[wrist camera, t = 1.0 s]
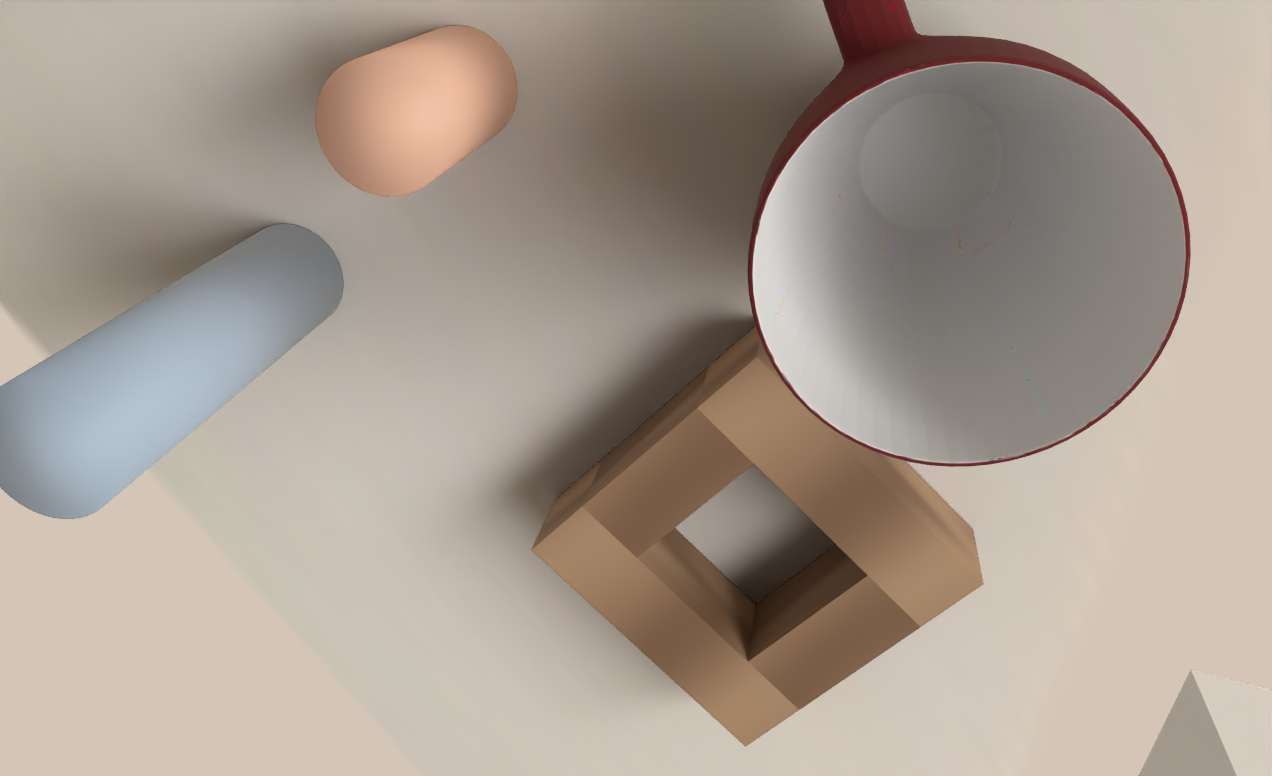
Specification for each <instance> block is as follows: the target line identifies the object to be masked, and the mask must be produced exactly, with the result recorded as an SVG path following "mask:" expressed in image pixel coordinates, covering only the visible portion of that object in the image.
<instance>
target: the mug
mask: <svg viewBox="0 0 1272 776" xmlns="http://www.w3.org/2000/svg"><path fill="white" fill-rule="evenodd" d="M823 2H824V5H825V8H826V11H827V14H828V17H829V20H830V23H831V26H832V29H833V31H834V34H835V37H836V40H837V43H838V45H839V48H840V51H841V54H842V57H843V60H844V67H843V69H842V71H841V72H840V73H839V74H838V75H837V77H836V78H835V79H834V80H833V81H832V82H831V83H830V84H829V85H828V86H827V87H826V88H825V89H824V90H823V92H822V93H821V94H820V95H819V96H818V97H817V98H816V99H815V100H814V101H813V102H812V103H811V104H810V106H809V107H808V108H807V109H806V110H805V111H804V113H803V114H802V115H801V116H800V117H799V119H798V120H797V122H796V123H795V124H794V126H793V127H792V128H791V130H790V131H789V132H788V134H787V136H786V137H785V139H784V141H783V142H782V144H781V146H780V147H779V149H778V151H777V153H776V155H775V157H774V159H773V161H772V163H771V165H770V167H769V169H768V172H767V175H766V177H765V180H764V183H763V186H762V188H761V192H760V196H759V200H758V204H757V208H756V212H755V216H754V220H753V227H752V233H751V240H750V246H749V255H748V285H749V295H750V302H751V308H752V313H753V317H754V320H755V324H756V328H757V331H758V334H759V337H760V339H761V342H762V344H763V347H764V349H765V351H766V353H767V355H768V357H769V359H770V361H771V363H772V365H773V367H774V368H775V370H776V371H777V373H778V374H779V376H780V378H781V379H782V381H783V382H784V383H785V385H786V386H787V387H788V388H789V390H790V391H791V392H792V393H793V395H794V396H795V397H796V398H797V399H798V400H799V401H800V402H801V403H802V404H803V405H804V406H805V407H806V408H807V409H808V410H809V411H810V412H811V413H812V414H813V415H815V416H816V417H817V418H818V419H819V420H820V421H822V422H823V423H824V424H826V425H827V426H829V427H830V428H831V429H833V430H834V431H836V432H837V433H839V434H841V435H842V436H844V437H846V438H848V439H849V440H851V441H853V442H855V443H857V444H859V445H861V446H863V447H866V448H868V449H870V450H872V451H875V452H878V453H881V454H884V455H887V456H889V457H893V458H897V459H901V460H905V461H909V462H914V463H920V464H926V465H936V466H978V465H988V464H995V463H1000V462H1006V461H1011V460H1015V459H1018V458H1022V457H1026V456H1029V455H1032V454H1035V453H1038V452H1041V451H1043V450H1046V449H1049V448H1051V447H1053V446H1055V445H1058V444H1060V443H1062V442H1064V441H1066V440H1068V439H1070V438H1072V437H1074V436H1075V435H1077V434H1079V433H1081V432H1082V431H1084V430H1086V429H1087V428H1089V427H1090V426H1092V425H1093V424H1095V423H1096V422H1098V421H1099V420H1100V419H1102V418H1103V417H1105V416H1106V415H1107V414H1108V413H1109V412H1111V411H1112V410H1113V409H1114V408H1115V407H1117V406H1118V405H1119V404H1120V403H1121V402H1122V401H1123V400H1124V399H1125V398H1126V397H1127V396H1128V395H1129V394H1130V393H1131V392H1132V391H1133V390H1134V389H1135V388H1136V387H1137V386H1138V384H1139V383H1140V382H1141V381H1142V380H1143V378H1144V377H1145V376H1146V375H1147V374H1148V372H1149V371H1150V369H1151V368H1152V366H1153V365H1154V364H1155V362H1156V361H1157V359H1158V358H1159V356H1160V355H1161V353H1162V351H1163V349H1164V347H1165V345H1166V344H1167V342H1168V340H1169V338H1170V336H1171V334H1172V332H1173V329H1174V327H1175V324H1176V322H1177V320H1178V317H1179V314H1180V311H1181V308H1182V304H1183V301H1184V298H1185V293H1186V288H1187V283H1188V278H1189V267H1190V232H1189V224H1188V217H1187V212H1186V208H1185V204H1184V200H1183V196H1182V193H1181V190H1180V188H1179V185H1178V182H1177V180H1176V177H1175V174H1174V172H1173V170H1172V168H1171V166H1170V164H1169V162H1168V160H1167V158H1166V156H1165V154H1164V153H1163V151H1162V150H1161V148H1160V147H1159V145H1158V144H1157V142H1156V141H1155V139H1154V138H1153V136H1152V135H1151V134H1150V133H1149V131H1148V130H1147V129H1146V128H1145V127H1144V125H1143V124H1142V123H1141V122H1140V121H1139V120H1138V118H1137V117H1136V116H1135V115H1134V114H1133V113H1132V112H1131V111H1130V110H1129V109H1128V108H1127V107H1126V106H1125V105H1124V104H1123V103H1122V102H1121V101H1120V100H1119V99H1118V98H1117V97H1116V96H1114V95H1113V94H1112V93H1111V92H1110V91H1109V90H1108V89H1107V88H1105V87H1104V86H1103V85H1102V84H1100V83H1099V82H1098V81H1096V80H1095V79H1094V78H1092V77H1091V76H1090V75H1089V74H1087V73H1086V72H1084V71H1082V70H1081V69H1079V68H1077V67H1076V66H1074V65H1072V64H1071V63H1069V62H1067V61H1065V60H1063V59H1061V58H1058V57H1056V56H1054V55H1052V54H1050V53H1048V52H1045V51H1043V50H1040V49H1037V48H1034V47H1031V46H1028V45H1025V44H1021V43H1016V42H1012V41H1008V40H1002V39H994V38H986V37H972V36H927V35H920V34H918V33H917V32H916V31H915V30H914V27H913V24H912V22H911V19H910V16H909V13H908V10H907V7H906V4H905V1H904V0H823Z"/></svg>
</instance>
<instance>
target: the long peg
mask: <svg viewBox="0 0 1272 776" xmlns="http://www.w3.org/2000/svg"><path fill="white" fill-rule="evenodd" d="M342 293H343V274H342V270H341V266H340V264H339V261H338V259H337V257H336V255H335V254H334V252H333V251H332V249H331V248H330V247H329V245H328V244H327V243H326V242H325V241H324V240H323V239H322V238H320V237H319V236H318V235H316V234H315V233H313V232H312V231H310V230H308V229H306V228H303V227H300V226H297V225H293V224H276V225H272V226H269V227H266V228H264V229H262V230H260V231H259V232H257V233H255V234H254V235H252V236H250V237H249V238H247V239H245V240H244V241H242V242H240V243H239V244H237V245H235V246H234V247H232V248H230V249H229V250H227V251H225V252H224V253H222V254H220V255H219V256H217V257H215V258H214V259H212V260H210V261H209V262H207V263H205V264H204V265H202V266H200V267H199V268H197V269H195V270H194V271H192V272H190V273H189V274H187V275H185V276H184V277H182V278H180V279H179V280H177V281H175V282H174V283H172V284H170V285H169V286H167V287H165V288H164V289H162V290H160V291H159V292H157V293H155V294H154V295H152V296H150V297H149V298H147V299H145V300H144V301H142V302H140V303H139V304H137V305H135V306H134V307H132V308H130V309H129V310H127V311H125V312H124V313H122V314H120V315H119V316H117V317H115V318H114V319H112V320H110V321H109V322H107V323H105V324H104V325H102V326H100V327H99V328H97V329H95V330H94V331H92V332H90V333H89V334H87V335H85V336H84V337H82V338H80V339H79V340H77V341H75V342H74V343H72V344H70V345H69V346H67V347H65V348H64V349H62V350H60V351H59V352H57V353H55V354H54V355H52V356H50V357H49V358H47V359H45V360H44V361H42V362H40V363H39V364H37V365H36V366H34V367H32V368H30V369H29V370H27V371H25V372H24V373H22V374H20V375H19V376H17V377H15V378H14V379H12V380H10V381H9V382H7V383H5V384H4V385H2V386H0V487H1V488H2V489H3V490H4V491H5V492H6V493H7V494H8V495H9V496H10V497H11V498H13V499H14V500H15V501H17V502H18V503H20V504H21V505H23V506H25V507H26V508H28V509H30V510H32V511H34V512H37V513H39V514H42V515H45V516H49V517H53V518H59V519H75V518H81V517H85V516H88V515H90V514H93V513H95V512H96V511H98V510H99V509H101V508H102V507H103V506H104V505H106V504H107V503H108V502H109V501H110V500H112V499H113V498H114V497H115V496H116V495H117V494H119V493H120V492H121V491H122V490H123V489H125V488H126V487H127V486H128V485H129V484H131V483H132V482H133V481H134V480H135V479H137V478H138V477H139V476H140V475H141V474H142V473H144V472H145V471H146V470H147V469H148V468H150V467H151V466H152V465H153V464H154V463H155V462H157V461H158V460H159V459H160V458H161V457H163V456H164V455H165V454H166V453H167V452H169V451H170V450H171V449H172V448H173V447H174V446H176V445H177V444H178V443H179V442H180V441H182V440H183V439H184V438H185V437H186V436H188V435H189V434H190V433H191V432H192V431H193V430H195V429H196V428H197V427H198V426H199V425H201V424H202V423H203V422H204V421H205V420H206V419H208V418H209V417H210V416H211V415H212V414H214V413H215V412H216V411H217V410H218V409H220V408H221V407H222V406H223V405H224V404H225V403H227V402H228V401H229V400H230V399H231V398H233V397H234V396H235V395H236V394H237V393H239V392H240V391H241V390H242V389H243V388H244V387H246V386H247V385H248V384H249V383H250V382H252V381H253V380H254V379H255V378H256V377H257V376H259V375H260V374H261V373H262V372H263V371H265V370H266V369H267V368H268V367H269V366H271V365H272V364H273V363H274V362H275V361H276V360H278V359H279V358H280V357H281V356H282V355H284V354H285V353H286V352H287V351H288V350H290V349H291V348H292V347H293V346H294V345H295V344H297V343H298V342H299V341H300V340H301V339H303V338H304V337H305V336H306V335H307V334H308V333H310V332H311V331H312V330H313V329H314V328H316V327H317V326H318V325H319V324H320V323H322V322H323V321H324V320H325V319H326V318H327V317H329V316H330V315H331V314H332V313H333V312H334V310H335V309H336V308H337V306H338V304H339V302H340V300H341V297H342Z"/></svg>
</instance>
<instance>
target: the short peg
mask: <svg viewBox="0 0 1272 776" xmlns="http://www.w3.org/2000/svg"><path fill="white" fill-rule="evenodd" d="M516 99H517V80H516V75H515V71H514V68H513V66H512V63H511V61H510V59H509V57H508V56H507V54H506V53H505V51H504V50H503V49H502V47H501V46H500V45H499V44H498V43H497V42H496V41H495V40H494V39H493V38H491V37H490V36H488V35H487V34H485V33H483V32H482V31H480V30H477V29H475V28H472V27H467V26H461V25H451V26H445V27H441V28H438V29H435V30H433V31H430V32H427V33H424V34H422V35H419V36H416V37H414V38H411V39H408V40H405V41H403V42H400V43H397V44H394V45H392V46H389V47H386V48H384V49H381V50H378V51H375V52H373V53H370V54H367V55H365V56H362V57H359V58H356V59H354V60H351V61H349V62H347V63H345V64H343V65H342V66H341V67H339V68H338V69H337V70H335V71H334V72H333V74H332V75H331V76H330V77H329V78H328V80H327V81H326V82H325V84H324V86H323V88H322V90H321V92H320V95H319V98H318V102H317V107H316V129H317V134H318V138H319V141H320V145H321V147H322V149H323V152H324V154H325V155H326V157H327V159H328V161H329V162H330V163H331V165H332V166H333V168H334V169H335V170H336V171H337V172H338V173H339V174H340V175H341V176H342V177H343V178H344V179H345V180H346V181H348V182H349V183H351V184H352V185H354V186H355V187H357V188H359V189H361V190H363V191H365V192H368V193H371V194H374V195H378V196H386V197H396V196H403V195H407V194H410V193H413V192H415V191H417V190H419V189H421V188H423V187H424V186H426V185H427V184H428V183H430V182H431V181H433V180H434V179H435V178H437V177H438V176H439V175H441V174H442V173H444V172H445V171H446V170H448V169H449V168H450V167H452V166H453V165H455V164H456V163H457V162H459V161H460V160H461V159H463V158H464V157H465V156H467V155H468V154H470V153H471V152H472V151H474V150H475V149H476V148H478V147H479V146H481V145H482V144H483V143H485V142H486V141H487V140H489V139H490V138H492V137H493V136H494V135H496V134H497V133H498V132H499V131H500V130H501V129H503V127H504V126H505V125H506V124H507V122H508V121H509V119H510V117H511V116H512V113H513V111H514V108H515V104H516Z"/></svg>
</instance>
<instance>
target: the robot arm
mask: <svg viewBox="0 0 1272 776" xmlns="http://www.w3.org/2000/svg"><path fill="white" fill-rule="evenodd" d="M1139 776H1272V690H1271V689H1266V688H1262V687H1259V686H1255V685H1250V684H1247V683H1242V682H1239V681H1235V680H1231V679H1226V678H1223V677H1219V676H1215V675H1211V674H1206V673H1203V672H1199V671H1195V670H1190V672H1189V674H1188V677H1187V679H1186V681H1185V683H1184V685H1183V687H1182V689H1181V691H1180V693H1179V695H1178V697H1177V699H1176V701H1175V703H1174V705H1173V707H1172V709H1171V711H1170V713H1169V715H1168V717H1167V719H1166V721H1165V723H1164V726H1163V727H1162V729H1161V732H1160V734H1159V736H1158V738H1157V740H1156V742H1155V744H1154V746H1153V748H1152V750H1151V752H1150V754H1149V756H1148V758H1147V760H1146V762H1145V764H1144V766H1143V768H1142V770H1141V772H1140V774H1139Z"/></svg>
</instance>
